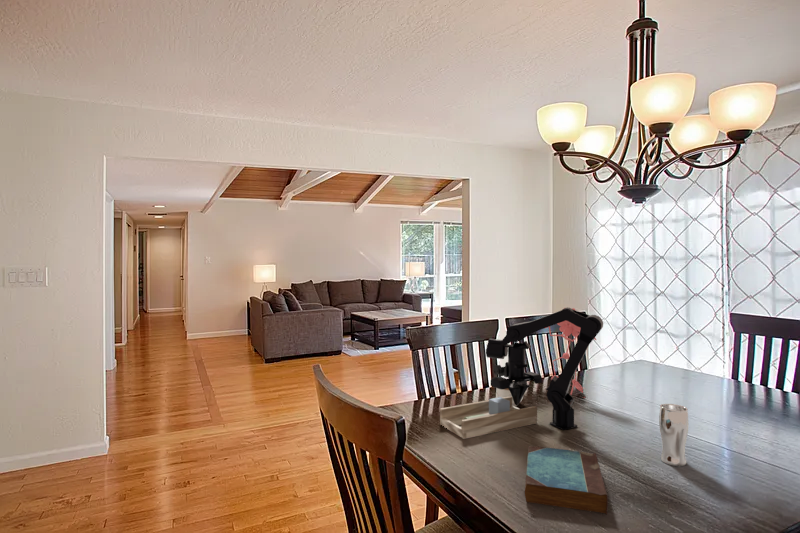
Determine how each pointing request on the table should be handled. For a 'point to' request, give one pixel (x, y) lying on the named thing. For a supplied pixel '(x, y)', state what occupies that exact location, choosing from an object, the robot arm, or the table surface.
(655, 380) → the table surface
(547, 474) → the book
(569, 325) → the pink branch
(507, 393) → the lidded jar
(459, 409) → the tray
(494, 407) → the block
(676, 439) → the beer glass
